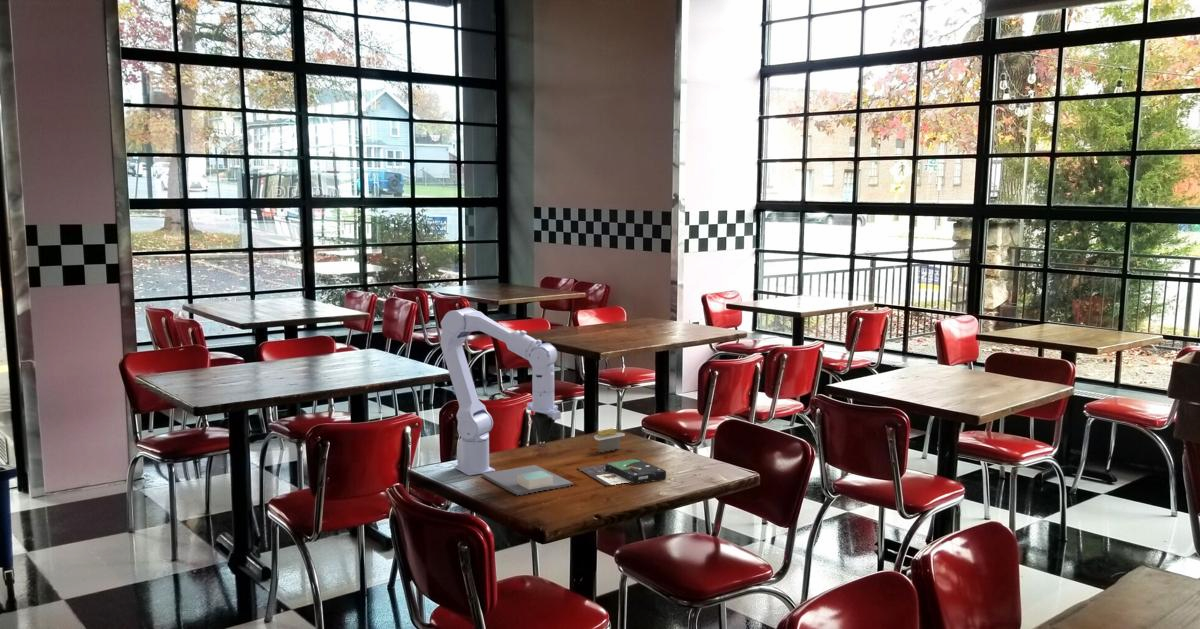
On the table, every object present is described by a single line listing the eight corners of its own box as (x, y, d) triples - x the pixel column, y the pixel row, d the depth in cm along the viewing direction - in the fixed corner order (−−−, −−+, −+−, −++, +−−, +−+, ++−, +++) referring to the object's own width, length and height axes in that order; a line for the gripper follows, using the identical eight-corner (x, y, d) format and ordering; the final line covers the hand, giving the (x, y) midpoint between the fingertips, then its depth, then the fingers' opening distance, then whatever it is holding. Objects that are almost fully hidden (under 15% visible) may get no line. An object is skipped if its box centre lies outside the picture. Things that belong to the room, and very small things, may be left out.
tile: (517, 474, 247) (528, 480, 242) (541, 470, 251) (553, 476, 246) (517, 483, 247) (528, 489, 242) (541, 479, 251) (553, 485, 246)
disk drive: (666, 480, 256) (636, 467, 268) (667, 470, 255) (636, 457, 268) (634, 486, 250) (604, 471, 263) (634, 475, 250) (604, 461, 263)
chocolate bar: (606, 464, 268) (637, 480, 252) (606, 467, 268) (637, 484, 252) (576, 468, 264) (606, 485, 248) (576, 471, 264) (606, 488, 248)
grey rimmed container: (571, 452, 284) (571, 430, 283) (618, 443, 295) (619, 422, 294) (596, 461, 274) (596, 438, 274) (644, 451, 285) (644, 429, 285)
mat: (482, 476, 257) (482, 473, 257) (535, 467, 265) (535, 464, 265) (517, 495, 240) (517, 492, 240) (573, 485, 249) (573, 482, 249)
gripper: (570, 393, 249) (570, 445, 250) (543, 384, 261) (543, 433, 262) (547, 396, 245) (547, 448, 247) (519, 387, 257) (520, 437, 259)
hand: (543, 441), depth 254 cm, fingers closed
